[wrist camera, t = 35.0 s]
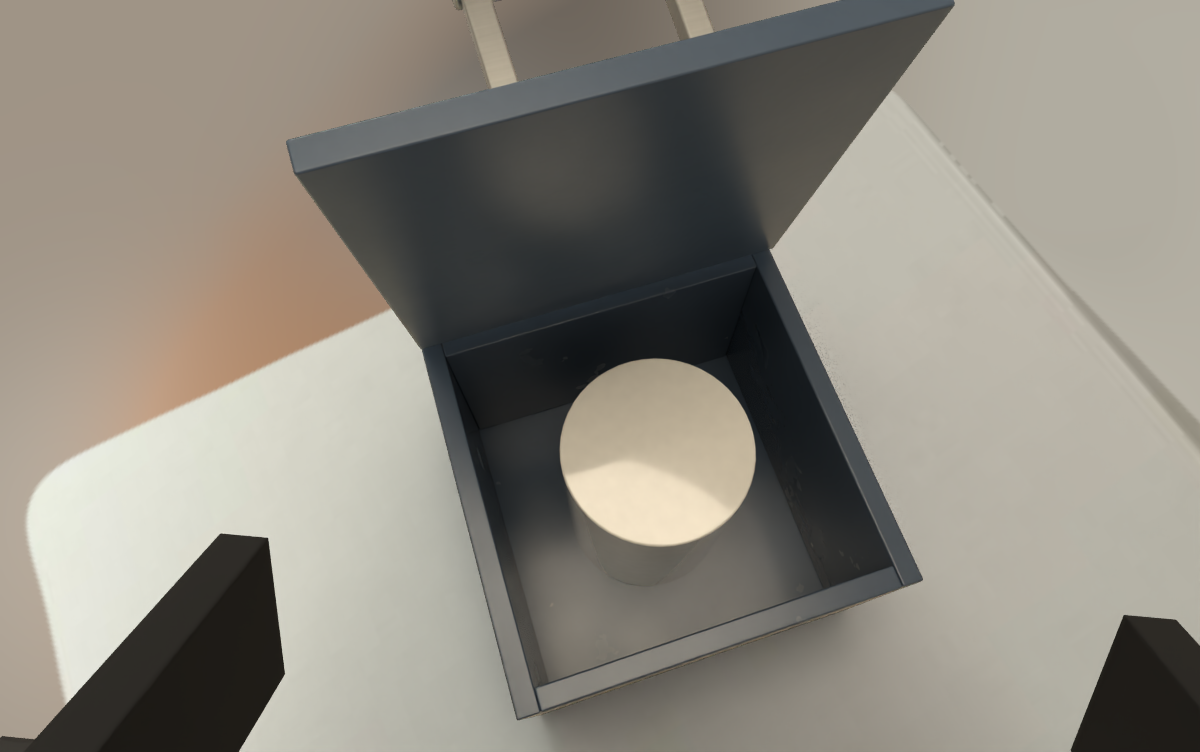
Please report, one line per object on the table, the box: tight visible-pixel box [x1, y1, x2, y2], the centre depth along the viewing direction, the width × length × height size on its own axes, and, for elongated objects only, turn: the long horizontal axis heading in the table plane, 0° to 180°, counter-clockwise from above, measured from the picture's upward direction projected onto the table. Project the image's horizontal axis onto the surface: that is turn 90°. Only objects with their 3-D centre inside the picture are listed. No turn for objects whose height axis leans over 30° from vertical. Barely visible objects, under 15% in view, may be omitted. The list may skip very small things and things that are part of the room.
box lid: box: [286, 0, 955, 349], centre depth 24 cm, size 15×15×7 cm
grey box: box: [422, 249, 923, 720], centre depth 33 cm, size 14×15×10 cm
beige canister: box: [559, 358, 756, 586], centre depth 33 cm, size 7×7×10 cm
